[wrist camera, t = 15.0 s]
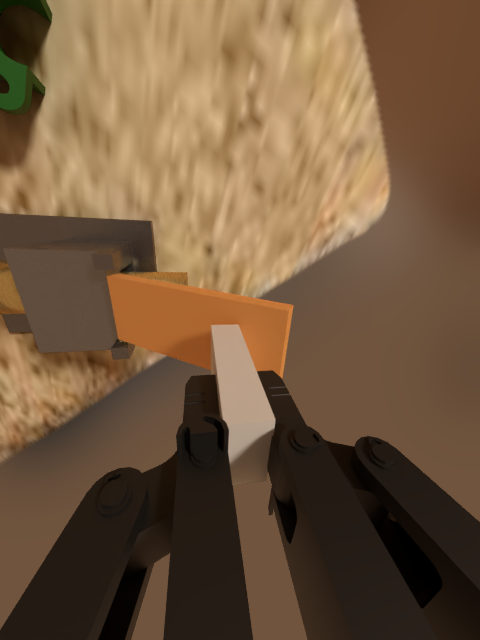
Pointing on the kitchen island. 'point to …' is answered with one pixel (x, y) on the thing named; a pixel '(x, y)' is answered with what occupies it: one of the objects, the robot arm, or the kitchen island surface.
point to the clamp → (20, 67)
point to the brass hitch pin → (6, 300)
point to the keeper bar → (197, 320)
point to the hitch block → (72, 277)
